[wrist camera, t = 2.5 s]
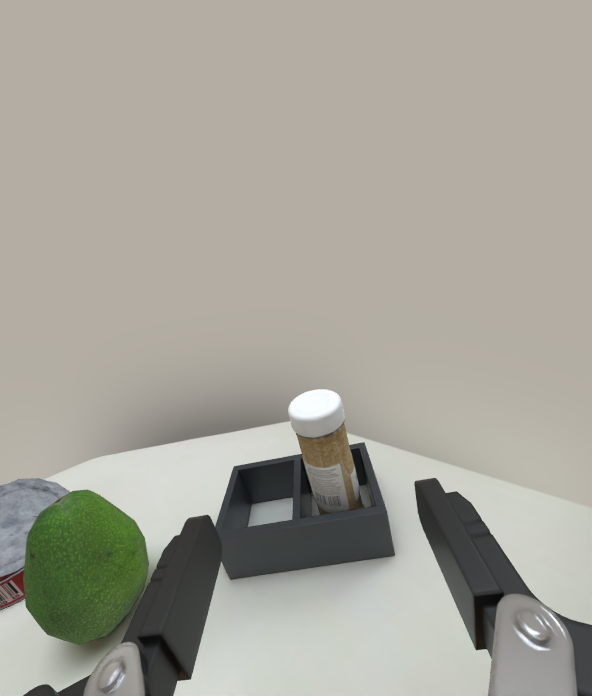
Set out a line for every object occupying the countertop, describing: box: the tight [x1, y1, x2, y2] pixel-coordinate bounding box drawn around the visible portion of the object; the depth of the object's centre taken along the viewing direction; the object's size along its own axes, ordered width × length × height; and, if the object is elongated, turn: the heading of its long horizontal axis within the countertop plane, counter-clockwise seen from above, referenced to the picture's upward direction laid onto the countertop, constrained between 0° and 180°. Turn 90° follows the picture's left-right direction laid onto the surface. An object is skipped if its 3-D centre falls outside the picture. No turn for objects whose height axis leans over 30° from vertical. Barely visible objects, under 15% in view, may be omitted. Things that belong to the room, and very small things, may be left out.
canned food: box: [0, 478, 70, 610], centre depth 31 cm, size 11×10×10 cm
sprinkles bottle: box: [288, 389, 364, 515], centre depth 25 cm, size 5×5×14 cm
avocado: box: [23, 490, 149, 644], centre depth 23 cm, size 8×8×12 cm
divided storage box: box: [215, 443, 395, 579], centre depth 27 cm, size 14×8×5 cm, turn 90°
